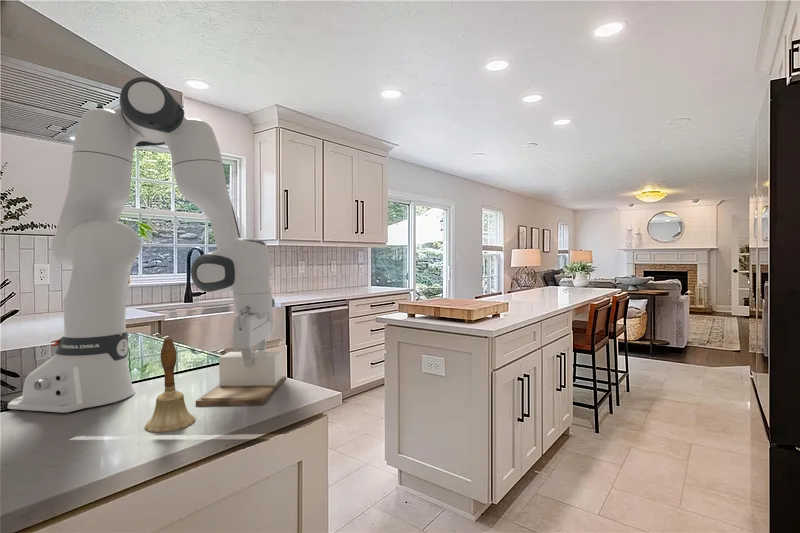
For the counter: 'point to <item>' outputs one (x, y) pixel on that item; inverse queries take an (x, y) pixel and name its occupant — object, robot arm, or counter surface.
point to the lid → (250, 369)
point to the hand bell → (169, 398)
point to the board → (238, 395)
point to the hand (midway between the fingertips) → (255, 360)
